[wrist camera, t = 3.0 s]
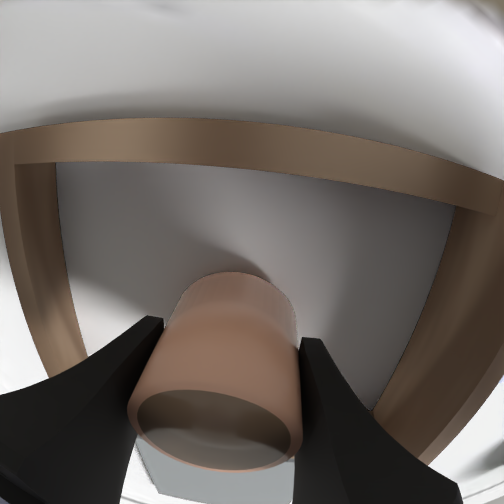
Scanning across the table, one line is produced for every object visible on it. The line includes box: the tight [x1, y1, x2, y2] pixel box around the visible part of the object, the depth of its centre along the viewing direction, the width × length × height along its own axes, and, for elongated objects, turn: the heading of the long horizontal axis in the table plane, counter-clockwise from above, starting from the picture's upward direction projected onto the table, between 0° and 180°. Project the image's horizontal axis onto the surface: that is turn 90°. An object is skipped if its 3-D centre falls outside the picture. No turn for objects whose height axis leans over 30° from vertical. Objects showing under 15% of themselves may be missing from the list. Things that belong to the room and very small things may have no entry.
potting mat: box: [136, 435, 295, 504], centre depth 18 cm, size 12×12×1 cm
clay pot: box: [127, 272, 303, 473], centre depth 9 cm, size 5×5×5 cm
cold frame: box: [0, 118, 504, 466], centre depth 10 cm, size 18×14×5 cm
